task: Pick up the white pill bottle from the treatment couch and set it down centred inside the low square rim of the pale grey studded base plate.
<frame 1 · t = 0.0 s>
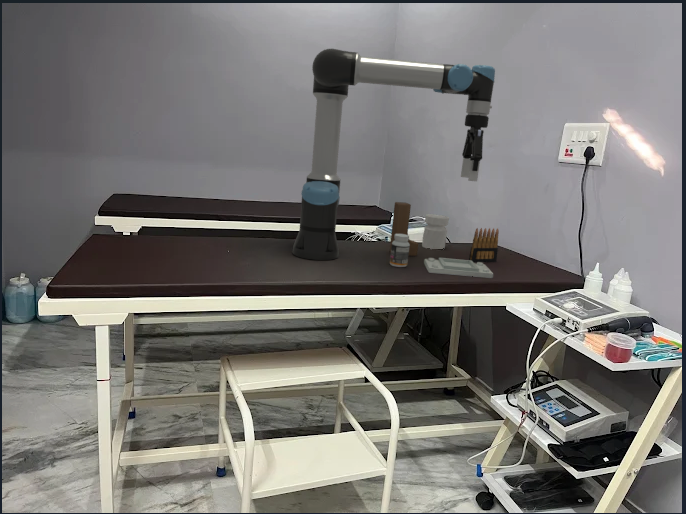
hand: (468, 179, 189), 28 cm above the table, fingers open, 13 cm apart
white lidded jar: (433, 247, 211), on the table
base plate: (457, 270, 178), on the table
wooden block: (403, 254, 195), on the table
ammunition clip: (482, 262, 195), on the table
pill bottle: (398, 265, 178), on the table
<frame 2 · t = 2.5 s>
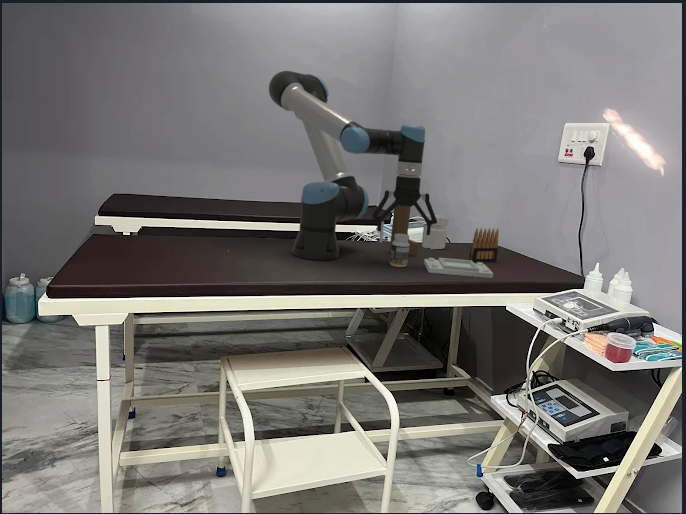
hand: (402, 243, 176), 7 cm above the table, fingers open, 13 cm apart
nothing on the table moved.
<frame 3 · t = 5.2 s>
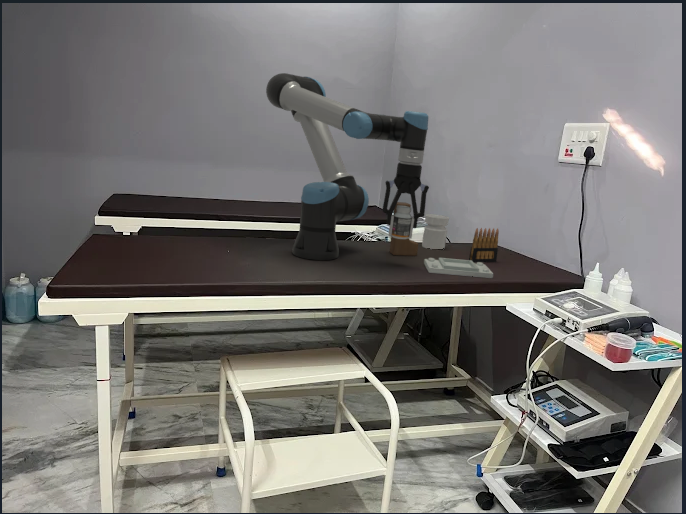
hand: (399, 236, 176), 9 cm above the table, fingers closed on pill bottle, 6 cm apart
pill bottle: (399, 238, 177), point 9 cm above the table, touching gripper
everything else where it was.
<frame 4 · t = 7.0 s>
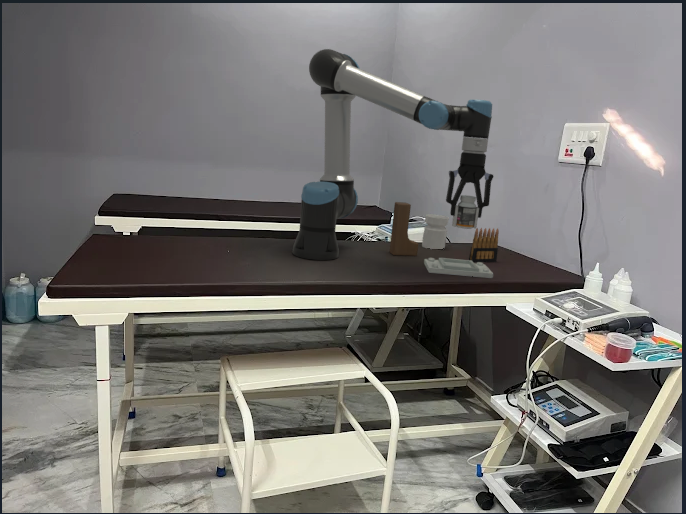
hand: (464, 226, 175), 14 cm above the table, fingers closed on pill bottle, 6 cm apart
pill bottle: (464, 228, 175), point 14 cm above the table, touching gripper
everything else where it was.
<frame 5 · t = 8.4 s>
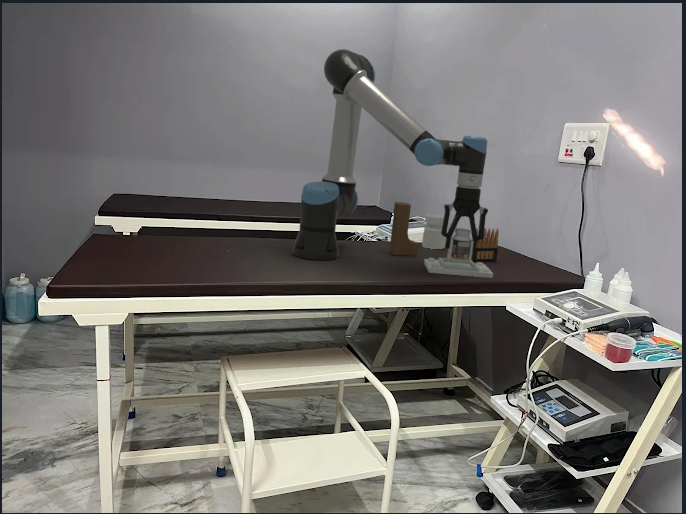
hand: (458, 259, 177), 4 cm above the table, fingers closed on pill bottle, 6 cm apart
pill bottle: (458, 260, 177), point 3 cm above the table, touching gripper
everything else where it was.
when the fingers open (4 cm above the table, at t = 9.3 s): pill bottle drops 2 cm, resting on base plate.
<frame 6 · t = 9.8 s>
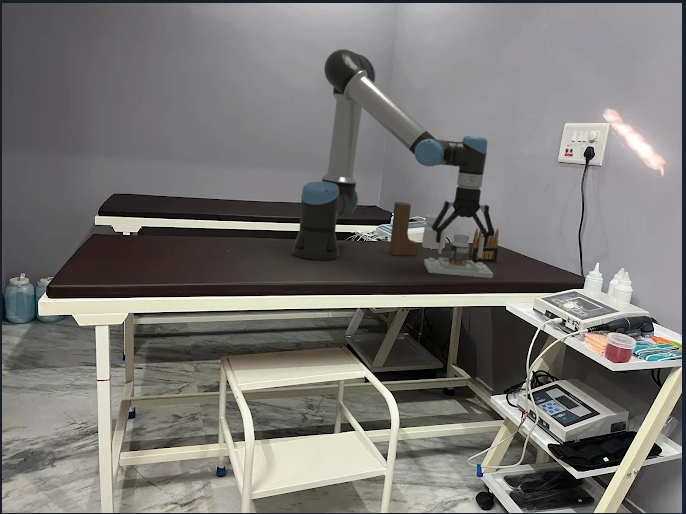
hand: (459, 254, 177), 5 cm above the table, fingers open, 12 cm apart
pill bottle: (457, 266, 178), point 1 cm above the table, touching base plate
everything else where it was.
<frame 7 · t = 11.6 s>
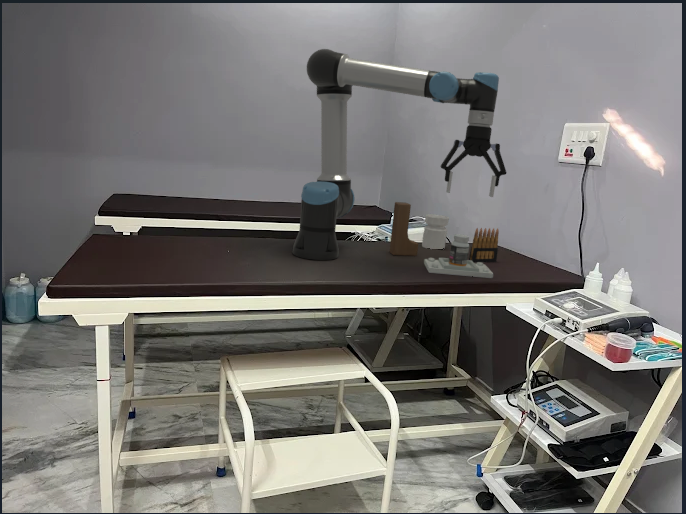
hand: (469, 194, 176), 24 cm above the table, fingers open, 13 cm apart
nothing on the table moved.
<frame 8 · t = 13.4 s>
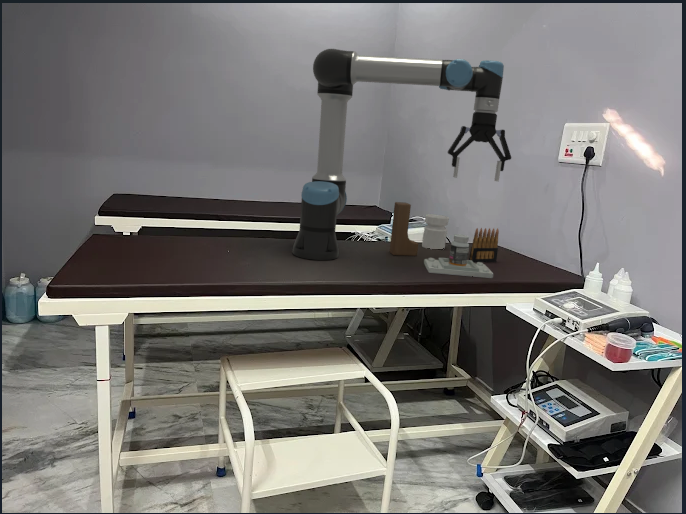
hand: (475, 179, 181), 29 cm above the table, fingers open, 13 cm apart
nothing on the table moved.
at the end: pill bottle 0.2 cm off-centre on the base plate, point 1.3 cm above the base plate's base; pill bottle tilted 0°; the gripper is holding nothing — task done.
